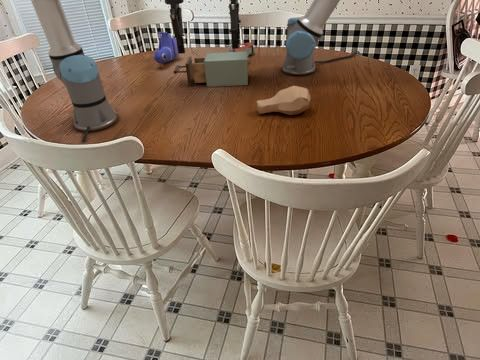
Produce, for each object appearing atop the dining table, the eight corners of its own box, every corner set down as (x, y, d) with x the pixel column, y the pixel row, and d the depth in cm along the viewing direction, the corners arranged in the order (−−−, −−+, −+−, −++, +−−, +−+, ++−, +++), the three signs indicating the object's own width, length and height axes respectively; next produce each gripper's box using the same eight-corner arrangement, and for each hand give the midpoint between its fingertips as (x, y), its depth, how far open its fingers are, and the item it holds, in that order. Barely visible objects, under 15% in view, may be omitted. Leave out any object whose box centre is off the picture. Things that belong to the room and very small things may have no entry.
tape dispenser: (245, 68, 177) (264, 54, 190) (245, 58, 174) (264, 44, 186) (216, 62, 185) (237, 49, 197) (215, 52, 181) (236, 39, 194)
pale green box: (206, 86, 157) (204, 61, 150) (209, 77, 166) (206, 53, 159) (247, 85, 156) (246, 59, 149) (248, 75, 165) (247, 51, 158)
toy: (167, 63, 198) (147, 69, 175) (163, 31, 191) (141, 33, 169) (184, 63, 195) (166, 69, 173) (180, 30, 189) (161, 32, 166)
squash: (314, 116, 128) (313, 95, 122) (259, 125, 130) (256, 105, 124) (308, 99, 136) (307, 78, 129) (257, 108, 138) (253, 88, 131)
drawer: (175, 85, 157) (171, 64, 152) (178, 77, 165) (175, 57, 160) (226, 83, 156) (224, 62, 151) (227, 75, 164) (225, 55, 159)
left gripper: (166, -10, 146) (176, 48, 160) (159, -5, 135) (170, 57, 149) (185, -11, 145) (192, 48, 159) (179, -6, 135) (187, 57, 149)
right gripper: (225, -17, 149) (229, 36, 161) (220, -7, 129) (225, 52, 141) (243, -18, 148) (245, 35, 161) (241, -8, 128) (244, 52, 141)
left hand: (181, 52), depth 154 cm, fingers closed
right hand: (236, 43), depth 151 cm, fingers open, 13 cm apart
